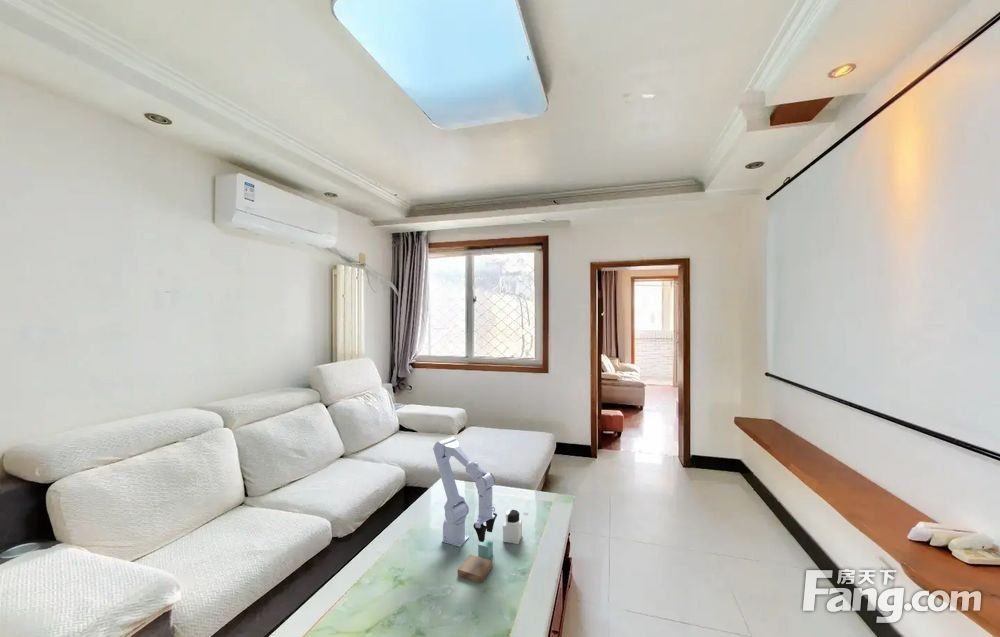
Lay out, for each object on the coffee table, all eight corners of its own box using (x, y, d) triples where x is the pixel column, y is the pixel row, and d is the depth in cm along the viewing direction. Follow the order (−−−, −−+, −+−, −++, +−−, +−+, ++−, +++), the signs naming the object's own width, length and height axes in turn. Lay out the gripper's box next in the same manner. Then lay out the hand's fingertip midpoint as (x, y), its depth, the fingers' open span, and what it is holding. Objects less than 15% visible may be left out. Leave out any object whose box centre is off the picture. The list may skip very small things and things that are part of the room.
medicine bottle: (522, 535, 172) (522, 509, 172) (518, 544, 165) (518, 517, 165) (506, 533, 174) (506, 506, 174) (502, 542, 167) (502, 514, 167)
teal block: (478, 556, 157) (478, 544, 157) (483, 550, 162) (483, 538, 162) (488, 559, 156) (488, 547, 156) (492, 553, 160) (492, 541, 160)
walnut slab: (457, 577, 146) (457, 569, 146) (470, 561, 155) (470, 554, 155) (481, 584, 142) (481, 576, 141) (492, 568, 151) (492, 560, 151)
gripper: (486, 514, 150) (486, 548, 150) (501, 497, 163) (501, 529, 163) (470, 510, 153) (470, 544, 153) (486, 494, 166) (486, 525, 166)
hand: (485, 536), depth 158 cm, fingers open, 7 cm apart
